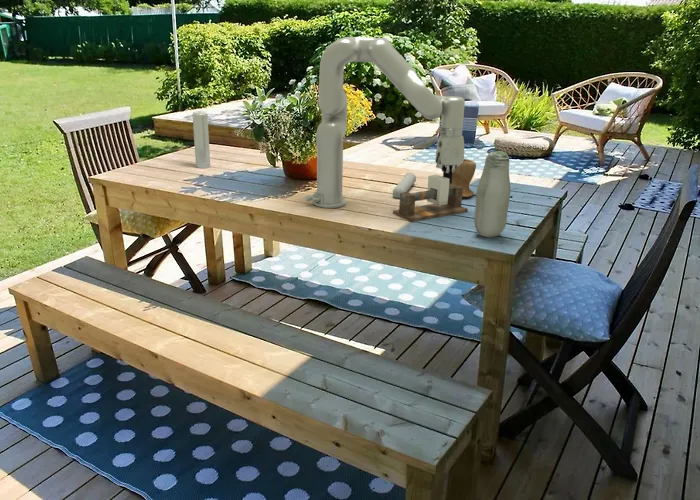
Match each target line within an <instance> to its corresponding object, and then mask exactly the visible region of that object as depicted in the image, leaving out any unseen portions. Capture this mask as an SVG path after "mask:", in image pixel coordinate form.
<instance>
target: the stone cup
mask: <svg viewBox="0 0 700 500" xmlns="http://www.w3.org/2000/svg"><path fill="white" fill-rule="evenodd" d="M476 169H477V164H476V161H474V160H471V159H466V158H464V161H463V163H461V165H460V166H458V167H456V168H455V170H454V172H453V173H452V183H449V185H456V186H460V187H462V188H463V193H462V198H469V197H472V196H473V195H474V191H472V190H471V189H470V183H471V182H472V179H473V178H474V177H475V176H474V175H475V173H476Z"/></svg>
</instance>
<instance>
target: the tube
mask: <svg viewBox="0 0 700 500" xmlns="http://www.w3.org/2000/svg"><path fill="white" fill-rule="evenodd" d="M416 181H417V176H416V175H415V174H414V173H413V172H406V174H405V175H404V177H402V179H401V180H400V182H399V183H398V184H397V185H396V186H395V187H394V188H393V189H392V196H393V197H394V198H395V199H400V193H402V192H408V191H409V190H410V189H411V187H412V186H413V185H414V184H415V183H416Z"/></svg>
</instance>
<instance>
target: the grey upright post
mask: <svg viewBox="0 0 700 500" xmlns="http://www.w3.org/2000/svg"><path fill="white" fill-rule="evenodd" d="M208 117H209V116H208V113H207V112H206V111H202V110H201V111H200V110H199V111H198V110H194V111H193V112H192V127H193V140H194V144H193V145H194V157H195V168H197V169H207V168H211V154H210V153H211V152H210V136H209V135H210V133H209V119H208Z"/></svg>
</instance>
